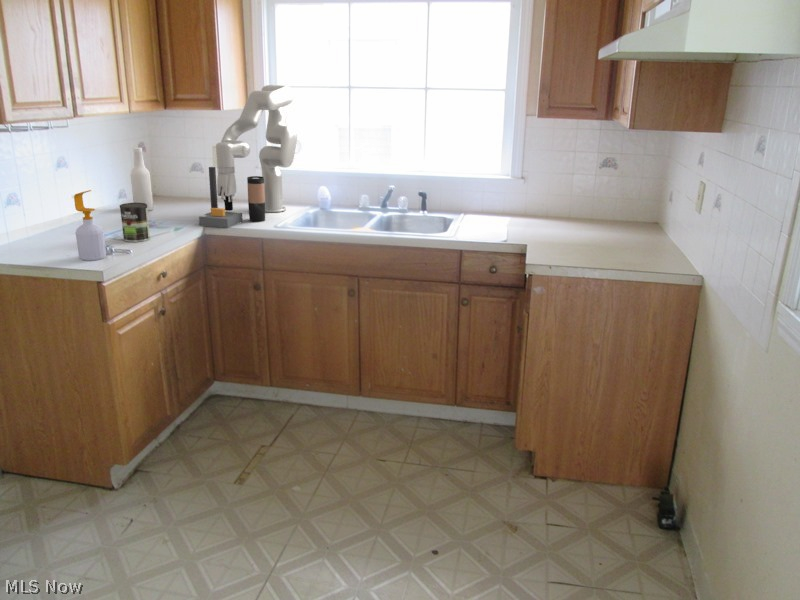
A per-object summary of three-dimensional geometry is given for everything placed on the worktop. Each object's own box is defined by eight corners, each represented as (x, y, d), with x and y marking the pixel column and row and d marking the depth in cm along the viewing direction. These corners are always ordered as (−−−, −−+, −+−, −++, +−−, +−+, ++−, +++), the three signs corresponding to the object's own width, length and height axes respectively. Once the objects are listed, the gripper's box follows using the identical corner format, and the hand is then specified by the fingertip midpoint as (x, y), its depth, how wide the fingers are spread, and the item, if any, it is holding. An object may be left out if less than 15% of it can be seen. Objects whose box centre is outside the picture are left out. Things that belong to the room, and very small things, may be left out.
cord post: (211, 214, 310) (208, 165, 303) (226, 215, 309) (224, 166, 301) (203, 217, 303) (199, 167, 295) (218, 218, 301) (215, 169, 294)
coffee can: (142, 243, 256) (138, 208, 251) (118, 241, 257) (114, 206, 252) (155, 237, 266) (152, 203, 261) (132, 235, 267) (128, 201, 262)
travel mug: (267, 219, 304) (266, 176, 298) (262, 222, 297) (261, 178, 290) (252, 218, 305) (250, 175, 298) (246, 221, 298) (244, 178, 291)
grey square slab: (215, 219, 300) (214, 210, 299) (242, 221, 297) (242, 212, 296) (199, 225, 288) (198, 216, 286) (227, 227, 285) (227, 218, 283)
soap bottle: (96, 261, 229) (87, 193, 221) (73, 259, 231) (63, 191, 223) (111, 255, 238) (103, 189, 230) (89, 253, 239) (80, 187, 231)
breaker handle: (213, 214, 290) (212, 207, 289) (225, 215, 289) (224, 208, 288) (211, 215, 289) (210, 208, 288) (223, 216, 287) (222, 209, 286)
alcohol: (147, 212, 310) (141, 149, 301) (130, 211, 312) (123, 148, 302) (157, 208, 319) (150, 147, 309) (140, 207, 320) (133, 146, 310)
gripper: (226, 167, 299) (229, 206, 305) (210, 172, 285) (213, 213, 292) (241, 168, 297) (243, 207, 304) (225, 173, 284) (228, 214, 290)
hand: (229, 210), depth 298 cm, fingers closed
